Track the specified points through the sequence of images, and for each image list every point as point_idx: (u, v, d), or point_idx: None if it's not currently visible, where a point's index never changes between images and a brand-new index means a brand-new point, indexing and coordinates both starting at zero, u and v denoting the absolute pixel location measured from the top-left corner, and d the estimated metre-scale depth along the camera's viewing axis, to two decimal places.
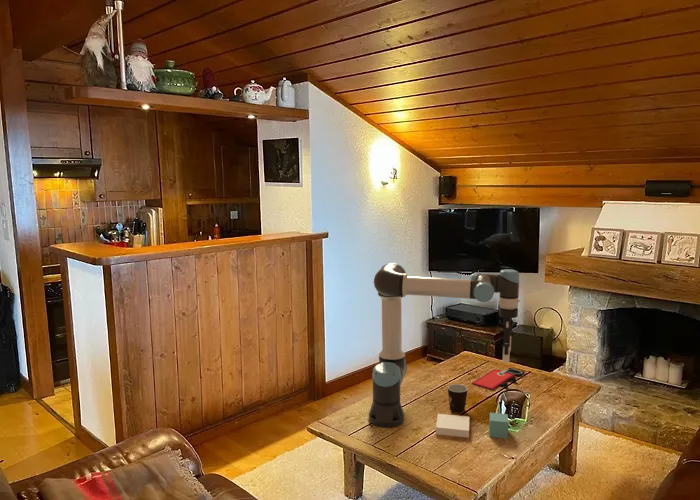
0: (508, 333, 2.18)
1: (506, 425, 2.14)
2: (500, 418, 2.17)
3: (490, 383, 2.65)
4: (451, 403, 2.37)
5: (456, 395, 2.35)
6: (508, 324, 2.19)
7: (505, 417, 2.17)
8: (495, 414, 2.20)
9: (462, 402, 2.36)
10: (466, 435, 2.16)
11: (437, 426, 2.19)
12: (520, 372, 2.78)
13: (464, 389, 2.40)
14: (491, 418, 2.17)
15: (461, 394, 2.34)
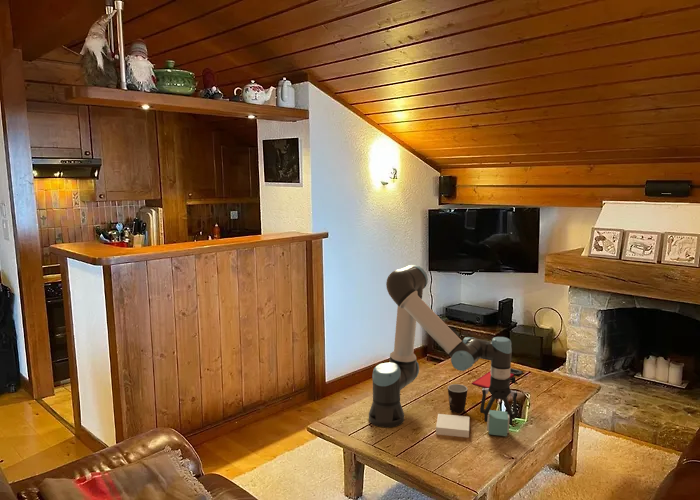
0: (482, 399, 2.17)
1: (506, 422, 2.14)
2: (500, 415, 2.17)
3: None
4: (451, 403, 2.37)
5: (456, 395, 2.35)
6: (482, 391, 2.17)
7: (504, 414, 2.17)
8: (495, 411, 2.20)
9: (462, 402, 2.36)
10: (466, 435, 2.16)
11: (437, 426, 2.19)
12: (519, 372, 2.79)
13: (464, 389, 2.40)
14: (491, 415, 2.17)
15: (461, 394, 2.34)
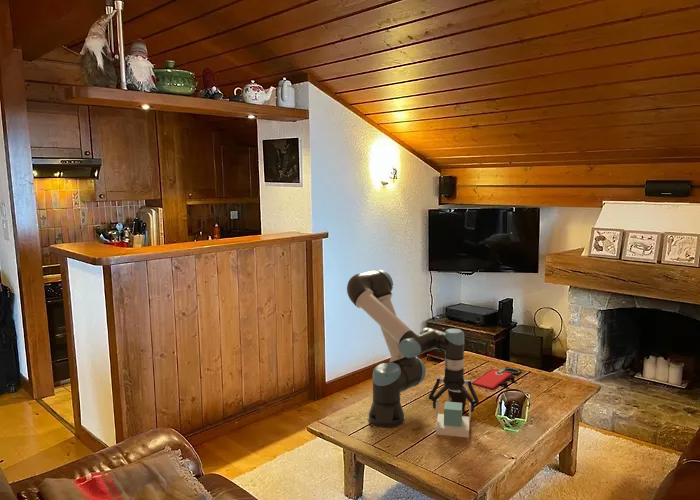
0: (434, 387, 2.21)
1: (460, 413, 2.17)
2: (454, 406, 2.21)
3: (490, 382, 2.66)
4: None
5: (456, 395, 2.35)
6: None
7: (459, 406, 2.21)
8: (450, 403, 2.24)
9: (462, 402, 2.36)
10: (466, 435, 2.16)
11: (437, 426, 2.19)
12: (517, 371, 2.80)
13: None
14: (445, 406, 2.20)
15: (461, 394, 2.34)
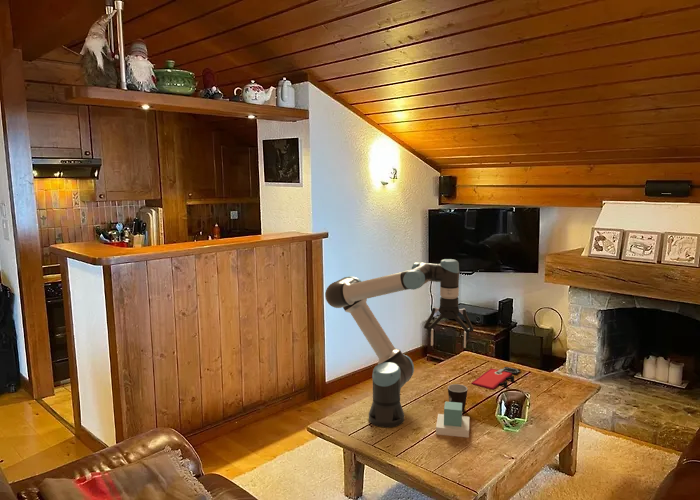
0: (429, 316, 2.28)
1: (460, 413, 2.17)
2: (454, 406, 2.21)
3: (490, 382, 2.66)
4: None
5: (456, 395, 2.35)
6: (432, 308, 2.27)
7: (459, 406, 2.21)
8: (450, 403, 2.24)
9: (462, 402, 2.36)
10: (466, 435, 2.16)
11: (437, 426, 2.19)
12: (517, 370, 2.81)
13: (464, 389, 2.40)
14: (445, 406, 2.20)
15: (461, 394, 2.34)
